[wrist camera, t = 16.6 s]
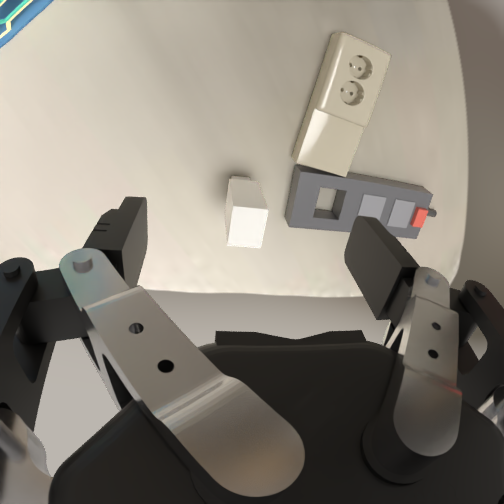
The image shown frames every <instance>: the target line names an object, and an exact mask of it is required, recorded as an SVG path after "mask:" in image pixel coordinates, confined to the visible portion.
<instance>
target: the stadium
mask: <svg viewBox="0 0 504 504" xmlns="http://www.w3.org/2000/svg"><path fill="white" fill-rule="evenodd" d="M52 1H54V0H0V48H1V47H2V46H4V45H5V44H6V43H7V42H9V41H10V40H11V39H12V38H13V37H14V36H15V35H16V34H17V33H18V32H19V31H20V30H21V29H22V28H24V27H25V26H26V25H27V24H28V23H29V22H30V21H31V20H32V19H33V18H35V17H36V16H37V15H38V14H39V13H40V12H42V11H43V10H44V9H45V8H46V7H47V6H48V5H49V4H50V3H51V2H52Z"/></svg>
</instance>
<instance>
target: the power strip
mask: <svg viewBox="0 0 504 504" xmlns="http://www.w3.org/2000/svg"><path fill="white" fill-rule="evenodd" d="M320 187H323V188H330V189H337V193H336V197H335V201H334V205H333V208H332V211H330V210H320V209H315V207H316V203H317V199H318V194H319V190H320ZM432 196H433V194H432V193H430V192H429V191H428V190H426V189H425V188H424V187H421V186H417V185H412V184H407V183H402V182H398V181H393V180H388V179H382V178H377V177H372V176H366V175H361V174H355V173H349V172H348V173H347V175H346V177H343V176H340V175H337V174H333V173H330V172H327V171H323V170H320V169H316V168H313V167H309V166H303V165H295V168H294V173H293V178H292V183H291V188H290V193H289V198H288V203H287V208H286V213H285V219H286V221H287V224H288V226H289V227H294V228H306V229H318V230H329V231H341V232H351V230H352V227H353V224H354V221H355V219H356V217H357V216H368V217H375V218H377V219H378V220H379V221H380V222H381V224H382V225H383V226H384V227H385V228H386V229H387V230H388V232H389V233H390V234H392V235H393V236H394V237H402V238H412V239H417V236H418V234H419V231H420V229H421V228H422V226H423V224H424V221H425V218H426V216H432V217H435V216H436V210H432V209H428V207H429V205H430V202H431V199H432Z"/></svg>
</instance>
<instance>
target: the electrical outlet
mask: <svg viewBox="0 0 504 504" xmlns="http://www.w3.org/2000/svg"><path fill="white" fill-rule="evenodd" d="M390 59H391V54H389V53H388V52H386V51H384V50H382V49H380V48H378V47H376V46H374V45H372V44H369V43H367V42H365V41H363V40H361V39H359V38H356V37H354V36H352V35H350V34H347V33H345V32H340V33H335V34H332V36H331V39H330V42H329V45H328V48H327V51H326V54H325V57H324V60H323V63H322V66H321V69H320V72H319V75H318V78H317V81H316V84H315V87H314V90H313V93H312V96H311V99H310V103H309V106H308V109H307V112H306V115H305V118H304V121H303V124H302V127H301V130H300V133H299V136H298V139H297V142H296V145H295V148H294V150H293V153H292V156H291V157H292V158H293V159H294V161H295V162H296V163H299V164H302V165H306V166H309V167H313V168H316V169H320V170H323V171H327V172H330V173H333V174H337V175H340V176H343V177H346V175H347V173H348V170H349V167H350V165H351V162H352V160H353V157H354V155H355V152H356V149H357V147H358V144H359V141H360V139H361V136H362V133H363V131H364V128H365V127H367V126H368V123H369V120H370V118H371V115H372V112H373V109H374V106H375V104H376V101H377V98H378V95H379V92H380V89H381V86H382V83H383V81H384V78H385V75H386V72H387V69H388V65H389V62H390Z"/></svg>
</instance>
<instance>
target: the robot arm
mask: <svg viewBox="0 0 504 504" xmlns="http://www.w3.org/2000/svg"><path fill="white" fill-rule="evenodd" d="M147 240H148V234H147V200H146V197H125V199H124V200H123V202H122V204H121V206H120V207H119V209H111V210H109V211H108V212H106V213H105V214H103V215H102V216H101V218H100V219H99V221H98V222H97V225H96V226H95V227H94V229H93V231H92V232H91V234H90V236H89V237H88V239H87V241H86V242H85V244H84V246H83V248H82V249H77V250H74V251H72V252H70V253H68V254H67V255H65V256H64V257H63V258H62V259H61V261H60V264H59V268H56V269H51V270H44V271H37V272H35V269H34V265H33V263H32V261H30V260H29V259H27V258H22V257H19V258H13V259H9V260H7V261H5V262H3V263H1V264H0V504H504V309H503V307H502V306H501V305H500V304H499V302H498V301H497V300H496V298H495V297H494V296H493V295H492V293H491V292H490V291H489V290H488V289H487V288H486V287H485V286H484V285H482V284H481V283H479V282H476V281H473V280H467V281H466V282H465V284H464V286H463V288H462V290H461V291H460V290H456V289H453V288H450V286H449V282H448V281H447V279H446V278H445V277H444V276H443V275H442V274H440V273H439V272H437V271H436V270H434V269H431V268H428V267H420V266H419V265H418V264H417V262H416V261H415V260H414V259H413V257H412V256H411V255H410V254H409V253H408V252H406V251H407V250H406V249H405V248H404V247H403V246H401V245H402V244H401V243H400V242H399V241H398V240H397V239H396V237H394V236H393V235H392V234H390V233H389V232H388V230H387V229H386V228H385V227H384V226H383V225H382V224H381V222H380V221H379V220H378V219H377V218H375V217H368V216H357V217H356V219H355V221H354V224H353V227H352V230H351V233H350V236H349V239H348V242H347V245H346V249H345V254H344V258H345V263H346V265H347V267H348V269H349V271H350V272H351V274H352V276H353V278H354V279H355V281H356V283H357V285H358V287H359V288H360V290H361V292H362V294H363V296H364V297H365V299H366V301H367V303H368V305H369V307H370V308H371V310H372V312H373V314H374V316H375V318H376V320H385V319H386V320H387V319H390V320H391V321H390V323H389V325H388V327H387V329H386V332H385V335H384V338H383V341H382V344H381V345H380V344H377V343H374V342H370V341H366V339H365V337H364V335H363V332H362V330H355V331H330V332H326V333H322V334H318V335H314V336H311V337H306V338H302V339H296V340H295V339H289V338H283V337H278V336H272V335H268V334H262V333H257V332H230V331H216V336H215V343H212V344H207V345H203V346H200V347H196V346H195V345H194V344H193V343H192V342H191V341H190V340H189V339H188V337H187V336H186V335H185V334H184V333H183V332H182V331H181V330H180V329H179V328H178V327H177V325H176V324H175V323H174V322H173V321H172V320H171V319H170V318H169V317H168V316H167V314H166V313H165V312H164V311H163V310H162V309H161V308H160V306H159V305H158V304H157V303H156V302H155V301H154V300H153V298H152V297H151V296H150V295H149V294H148V293H147V291H146V290H145V289H144V288H143V287H142V286H140V285H138V286H137V283H138V279H139V275H140V272H141V268H142V265H143V261H144V258H145V254H146V250H147ZM477 326H478V327H479V328H480V330H481V331H482V333H483V334H484V336H485V337H486V339H487V343H488V345H487V350H486V352H485V354H484V355H483V356H482V358H481V359H480V360H478V358H477V356H476V355H475V353H474V351H473V350H472V348H471V346H470V345H469V343H468V340H469V338H470V337H471V335H472V334H473V332H474V331H475V330H476V328H477ZM74 338H80V341H81V342H82V344H83V346H84V348H85V350H86V352H87V354H88V356H89V357H90V359H91V361H92V363H93V365H94V366H95V368H96V370H97V372H98V373H99V375H100V377H101V378H102V380H103V382H104V384H105V386H106V388H107V390H108V392H109V394H110V396H111V398H112V400H113V401H114V403H115V405H116V407H117V408H118V410H119V411H120V412H118V413H117V414H116V415H115V416H114V417H113V418H112V419H111V420H110V421H109V422H108V423H106V424H105V425H104V426H103V427H102V428H101V429H100V430H99V431H98V432H97V433H96V434H94V436H92V437H91V438H90V439H89V440H88V441H87V442H85V443H84V444H83V445H82V446H81V447H80V448H79V449H78V450H77V451H75V452H74V453H73V454H72V455H71V456H70V457H69V458H68V459H67V460H65V462H63V464H62V465H61V466H60V467H59V468H58V470H57V471H56V473H55V475H54V477H51V476H50V474H49V472H48V469H47V465H46V452H45V448H44V446H43V444H42V442H41V441H40V439H39V438H38V437H37V436H36V435H35V434H34V433H33V431H34V426H35V421H36V417H37V412H38V407H39V403H40V398H41V394H42V390H43V386H44V382H45V378H46V374H47V371H48V367H49V363H50V360H51V356H52V353H53V350H54V346H55V343H56V341H61V340H67V339H74Z"/></svg>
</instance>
